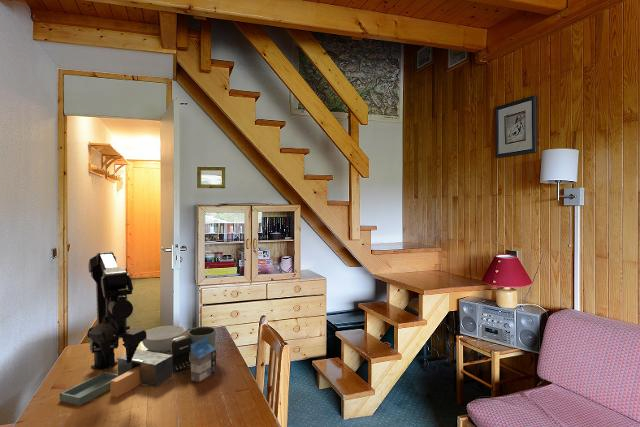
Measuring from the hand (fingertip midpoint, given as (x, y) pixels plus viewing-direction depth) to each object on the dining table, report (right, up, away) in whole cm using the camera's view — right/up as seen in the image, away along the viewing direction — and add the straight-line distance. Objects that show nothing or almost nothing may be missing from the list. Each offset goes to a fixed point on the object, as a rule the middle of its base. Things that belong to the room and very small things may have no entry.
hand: (117, 360), depth 129 cm
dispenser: (+4, -10, +11) cm, 16 cm away
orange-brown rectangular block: (+1, -11, +4) cm, 12 cm away
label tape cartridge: (+24, -10, +12) cm, 29 cm away
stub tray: (-9, -11, +2) cm, 14 cm away
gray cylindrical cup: (+20, -10, +25) cm, 33 cm away
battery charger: (+14, -10, +18) cm, 25 cm away
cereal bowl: (0, -9, +38) cm, 39 cm away
